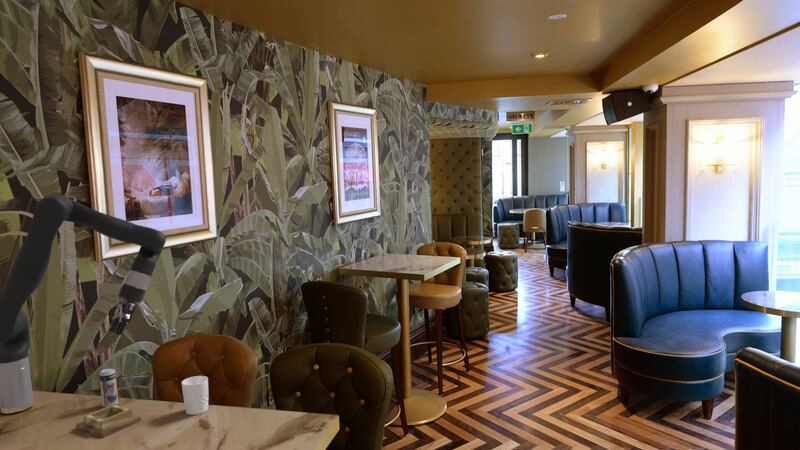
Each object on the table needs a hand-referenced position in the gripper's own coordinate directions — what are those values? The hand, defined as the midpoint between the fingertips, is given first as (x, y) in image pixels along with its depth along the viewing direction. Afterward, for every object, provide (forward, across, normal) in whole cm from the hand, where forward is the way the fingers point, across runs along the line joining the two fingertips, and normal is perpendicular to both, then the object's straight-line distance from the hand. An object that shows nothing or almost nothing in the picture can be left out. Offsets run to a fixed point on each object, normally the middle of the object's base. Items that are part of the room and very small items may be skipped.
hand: (115, 333), depth 181 cm
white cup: (+16, +20, +28) cm, 38 cm away
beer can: (+23, -6, +9) cm, 25 cm away
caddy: (+26, +11, +6) cm, 29 cm away
